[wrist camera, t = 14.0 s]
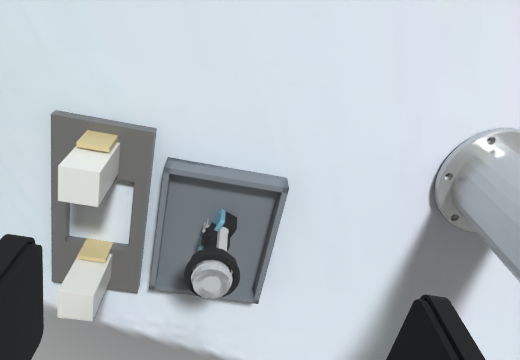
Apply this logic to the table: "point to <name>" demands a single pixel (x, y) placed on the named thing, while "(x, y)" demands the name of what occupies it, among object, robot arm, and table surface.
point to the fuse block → (92, 193)
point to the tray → (207, 207)
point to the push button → (214, 260)
